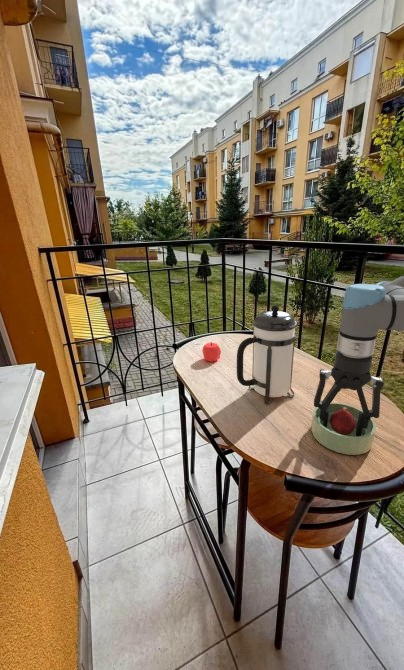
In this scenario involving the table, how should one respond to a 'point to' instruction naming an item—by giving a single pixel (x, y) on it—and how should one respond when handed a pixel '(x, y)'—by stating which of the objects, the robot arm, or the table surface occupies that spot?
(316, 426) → the bowl
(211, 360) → the apple
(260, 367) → the coffee press
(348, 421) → the onion
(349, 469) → the table surface
